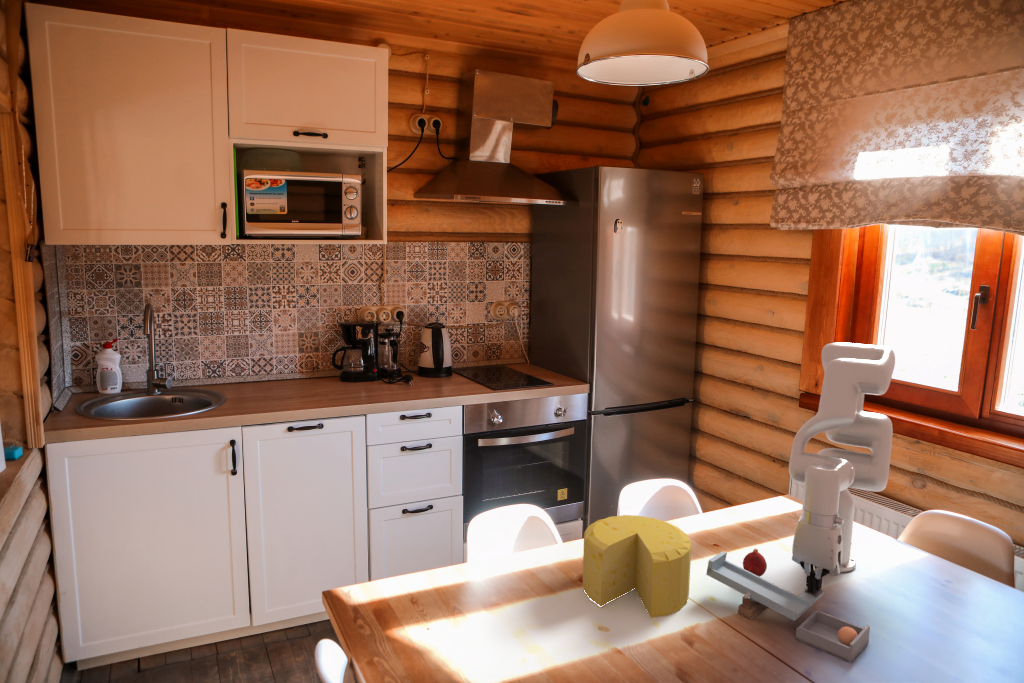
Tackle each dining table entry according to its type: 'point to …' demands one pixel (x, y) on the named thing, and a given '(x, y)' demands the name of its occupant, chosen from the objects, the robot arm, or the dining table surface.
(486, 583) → the dining table surface
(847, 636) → the ball
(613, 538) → the cheese
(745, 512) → the dining table surface
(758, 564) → the onion
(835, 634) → the dish
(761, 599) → the lever
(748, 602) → the fulcrum
